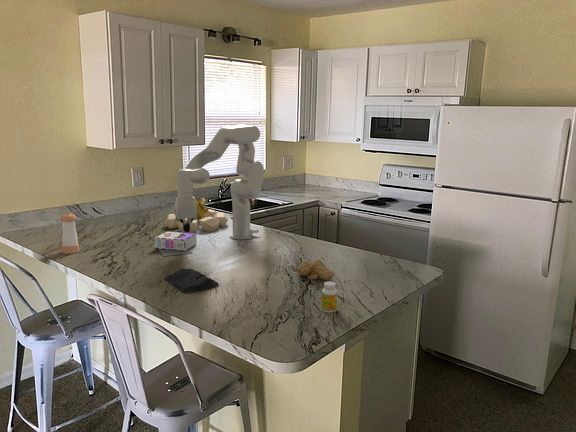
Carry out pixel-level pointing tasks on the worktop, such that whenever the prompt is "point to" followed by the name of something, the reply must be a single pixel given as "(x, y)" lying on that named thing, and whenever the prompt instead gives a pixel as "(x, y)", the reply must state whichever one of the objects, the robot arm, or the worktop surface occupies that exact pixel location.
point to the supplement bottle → (329, 297)
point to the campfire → (200, 219)
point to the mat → (173, 252)
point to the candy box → (175, 241)
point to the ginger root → (315, 270)
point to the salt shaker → (69, 234)
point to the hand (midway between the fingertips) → (186, 231)
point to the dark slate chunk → (190, 281)
